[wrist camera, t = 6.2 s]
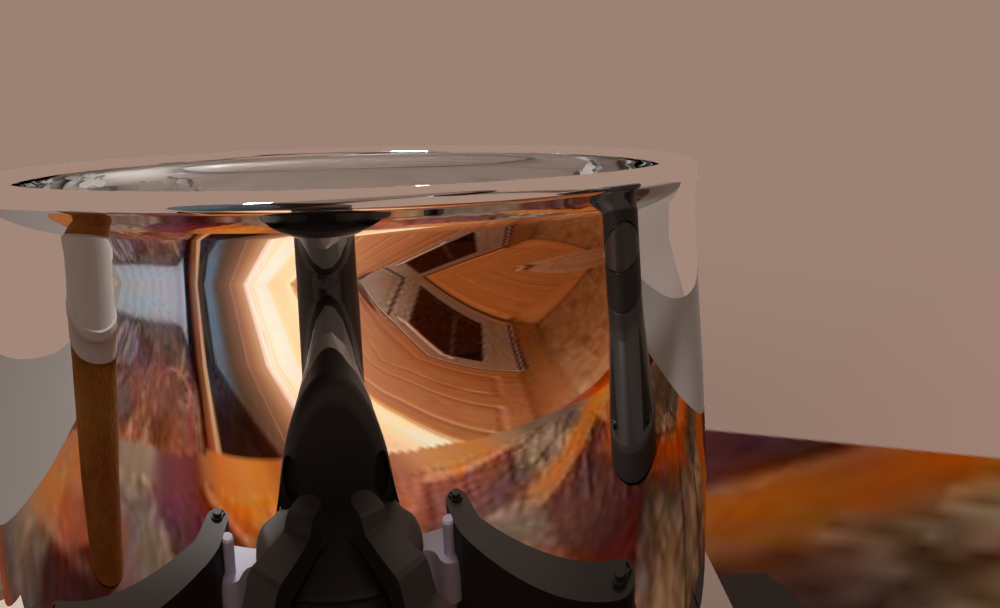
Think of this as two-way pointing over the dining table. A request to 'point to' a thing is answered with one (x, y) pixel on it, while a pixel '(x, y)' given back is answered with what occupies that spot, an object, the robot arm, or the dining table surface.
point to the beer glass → (353, 380)
